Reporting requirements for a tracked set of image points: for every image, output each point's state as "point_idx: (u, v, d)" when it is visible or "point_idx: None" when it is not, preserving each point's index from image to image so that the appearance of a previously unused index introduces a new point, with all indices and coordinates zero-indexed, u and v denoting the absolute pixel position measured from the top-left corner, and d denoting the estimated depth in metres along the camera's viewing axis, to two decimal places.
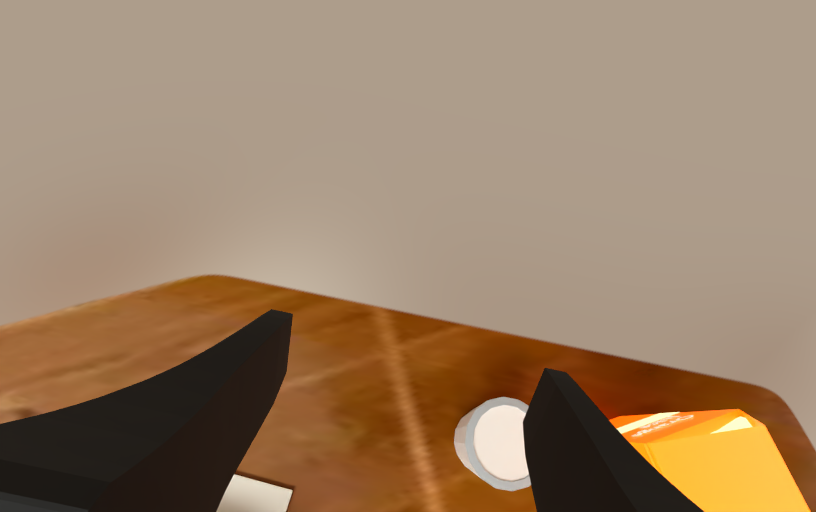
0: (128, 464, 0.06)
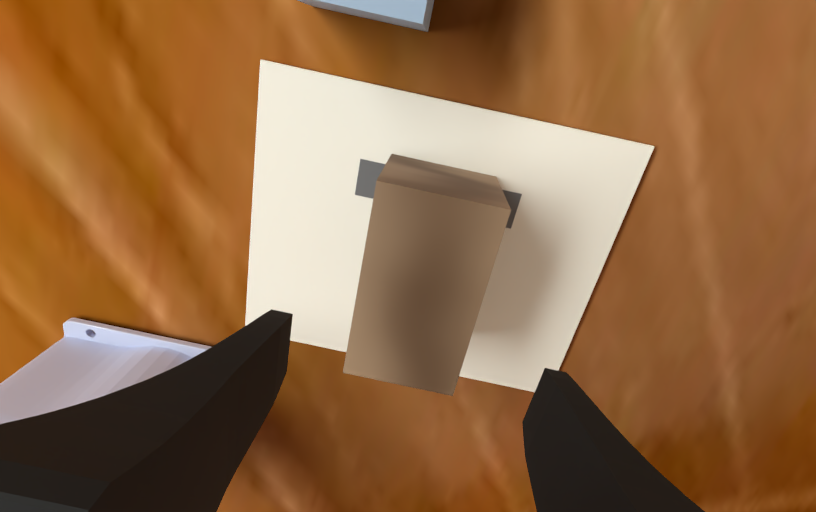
0: (128, 464, 0.06)
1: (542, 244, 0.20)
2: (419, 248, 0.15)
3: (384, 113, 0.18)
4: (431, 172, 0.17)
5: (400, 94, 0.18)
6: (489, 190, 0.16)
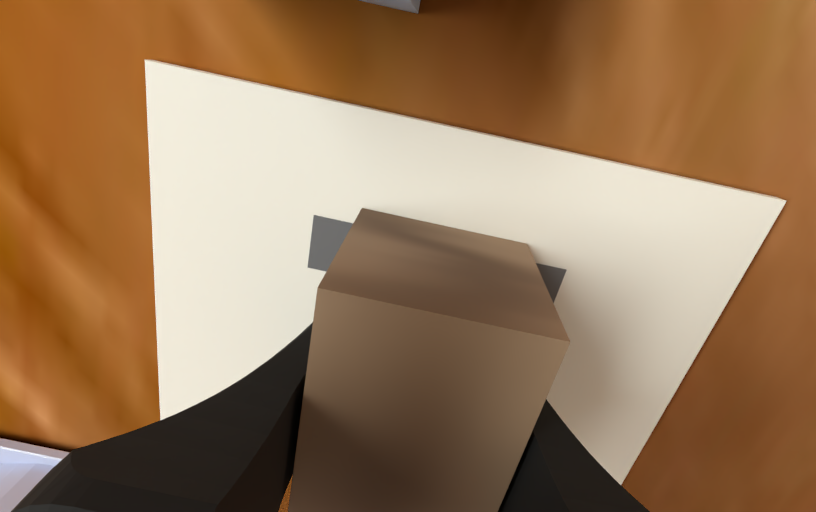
0: (225, 485, 0.06)
1: (594, 341, 0.13)
2: (401, 398, 0.09)
3: (348, 147, 0.11)
4: (423, 248, 0.10)
5: (374, 116, 0.11)
6: (522, 284, 0.10)
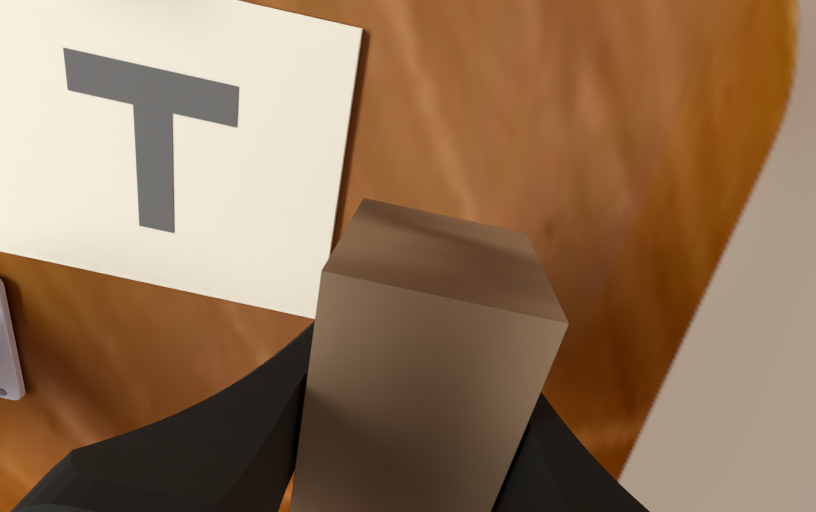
0: (226, 485, 0.06)
1: (273, 145, 0.19)
2: (403, 381, 0.09)
3: None
4: (424, 235, 0.10)
5: None
6: (522, 270, 0.10)
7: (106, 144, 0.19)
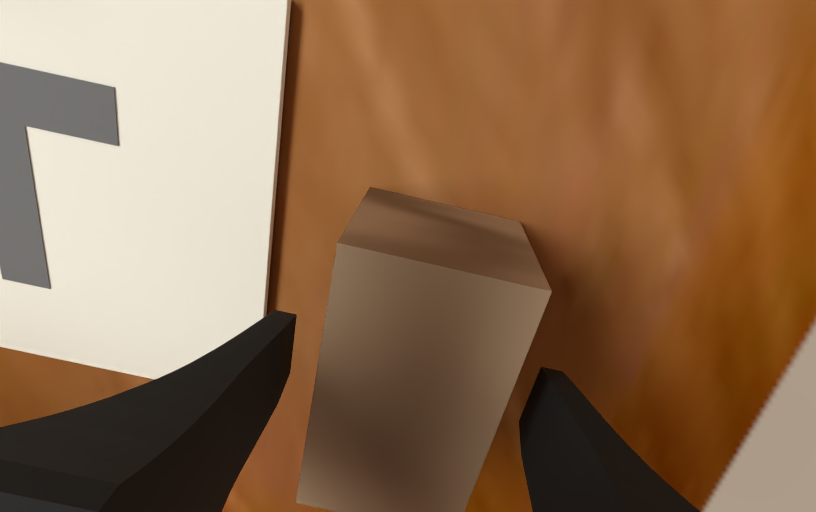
0: (136, 466, 0.06)
1: (173, 171, 0.13)
2: (406, 343, 0.10)
3: None
4: (426, 218, 0.12)
5: None
6: (513, 249, 0.11)
7: None
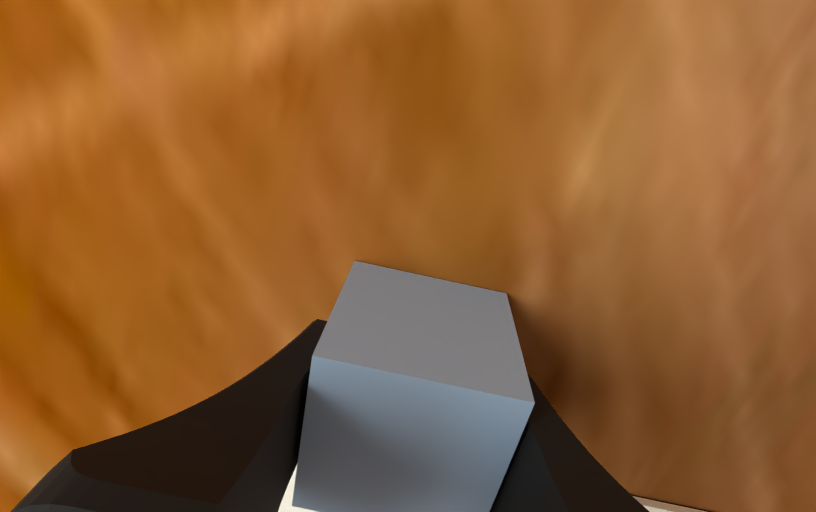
0: (226, 485, 0.06)
1: None
2: None
3: None
4: None
5: None
6: None
7: None
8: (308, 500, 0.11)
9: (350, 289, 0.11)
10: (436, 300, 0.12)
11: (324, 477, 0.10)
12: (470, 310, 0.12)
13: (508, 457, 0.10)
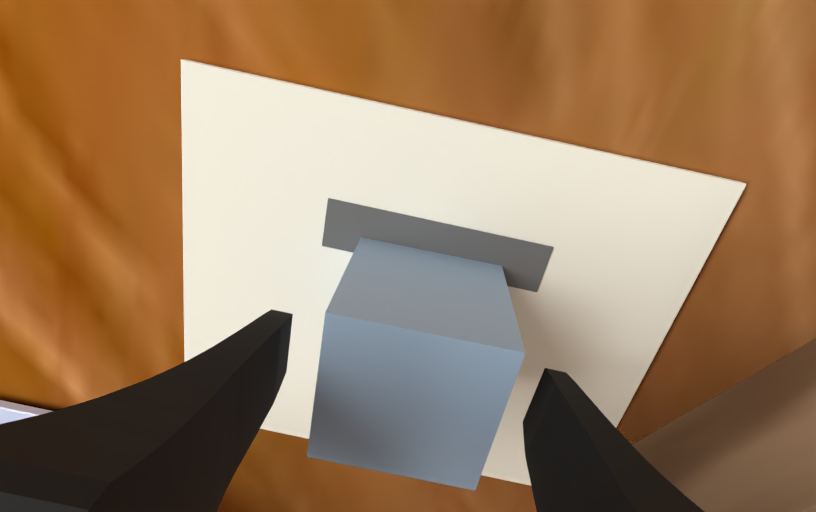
0: (128, 464, 0.06)
1: (579, 313, 0.14)
2: None
3: (359, 136, 0.13)
4: None
5: (382, 109, 0.12)
6: None
7: None
8: (322, 450, 0.12)
9: (357, 260, 0.12)
10: (437, 271, 0.13)
11: (336, 428, 0.11)
12: (467, 279, 0.13)
13: (503, 405, 0.10)
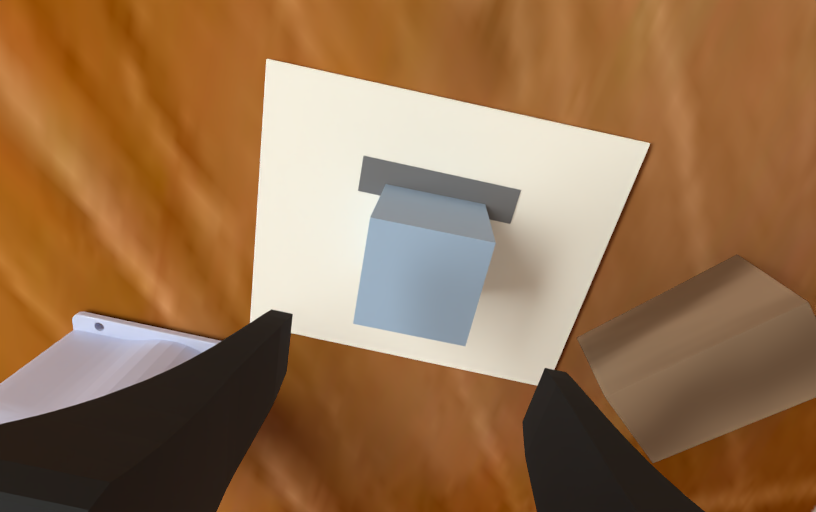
0: (128, 464, 0.06)
1: (541, 239, 0.20)
2: (769, 362, 0.17)
3: (386, 111, 0.19)
4: None
5: (402, 92, 0.18)
6: None
7: None
8: (363, 318, 0.17)
9: (385, 195, 0.18)
10: (439, 203, 0.19)
11: (373, 301, 0.17)
12: (460, 209, 0.18)
13: (482, 281, 0.16)
